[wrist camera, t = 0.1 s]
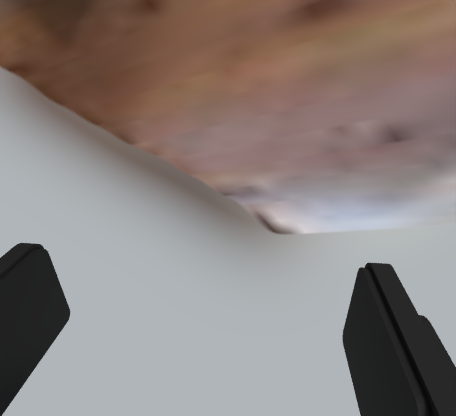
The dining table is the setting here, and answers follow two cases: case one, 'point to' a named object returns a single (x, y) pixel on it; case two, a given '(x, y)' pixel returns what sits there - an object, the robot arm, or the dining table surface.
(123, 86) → the dining table surface
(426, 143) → the dining table surface
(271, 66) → the dining table surface
